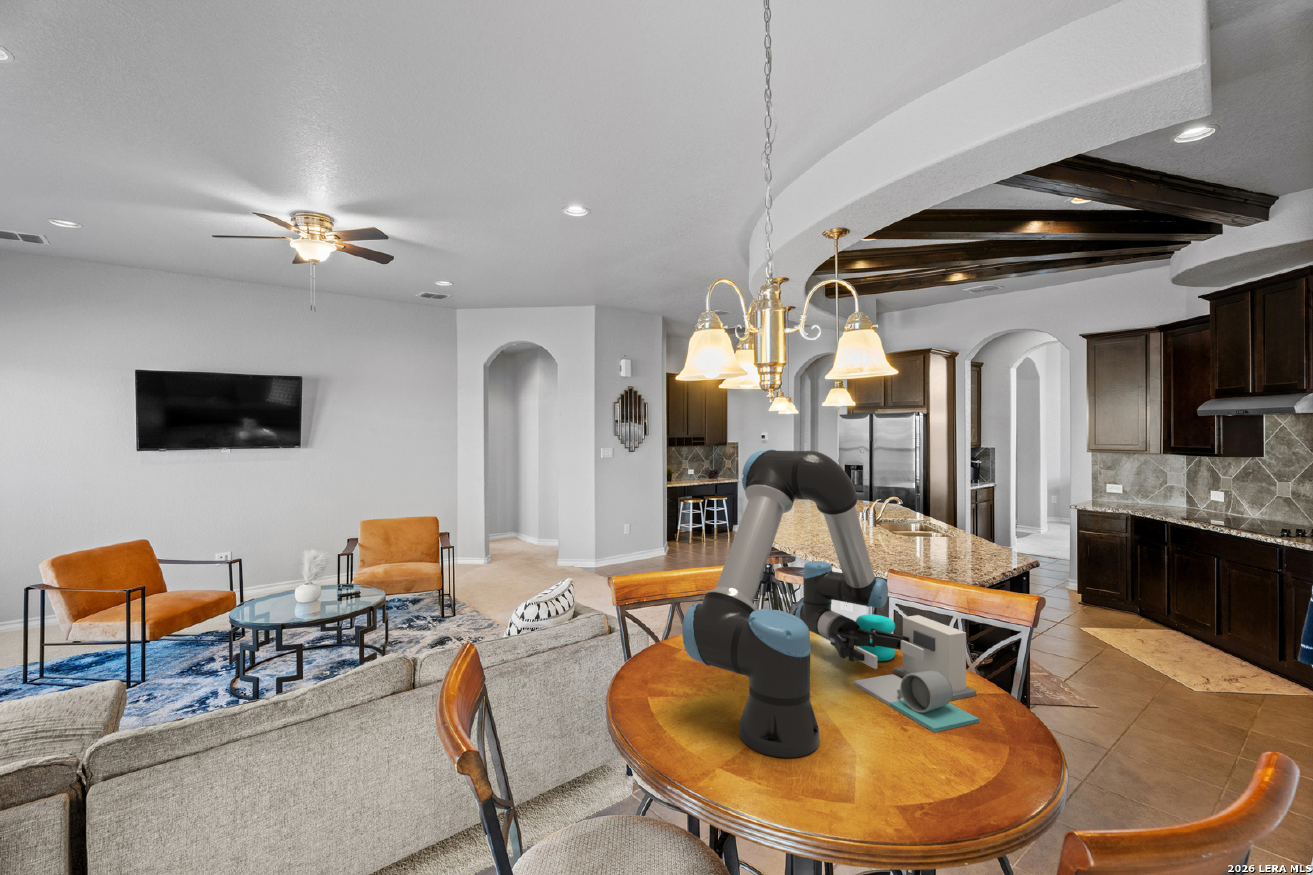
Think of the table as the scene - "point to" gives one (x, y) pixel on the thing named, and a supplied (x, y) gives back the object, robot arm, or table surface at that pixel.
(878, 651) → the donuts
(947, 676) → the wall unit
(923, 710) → the ceramic mug
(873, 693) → the mat
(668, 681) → the table surface
